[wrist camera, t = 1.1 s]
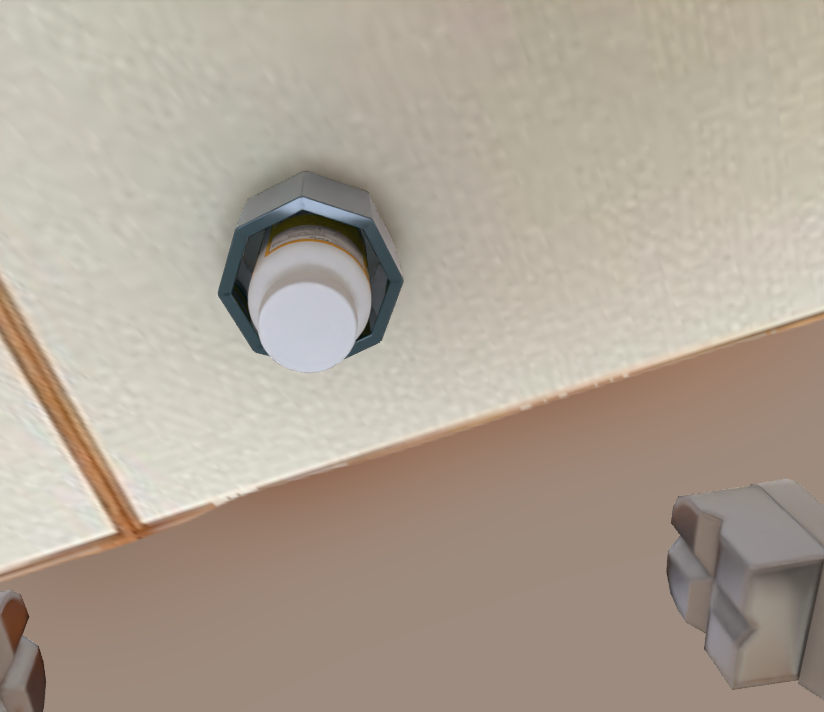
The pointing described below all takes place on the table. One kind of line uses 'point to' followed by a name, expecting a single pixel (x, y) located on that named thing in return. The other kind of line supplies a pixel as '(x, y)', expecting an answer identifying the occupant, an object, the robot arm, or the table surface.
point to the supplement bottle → (310, 291)
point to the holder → (326, 202)
